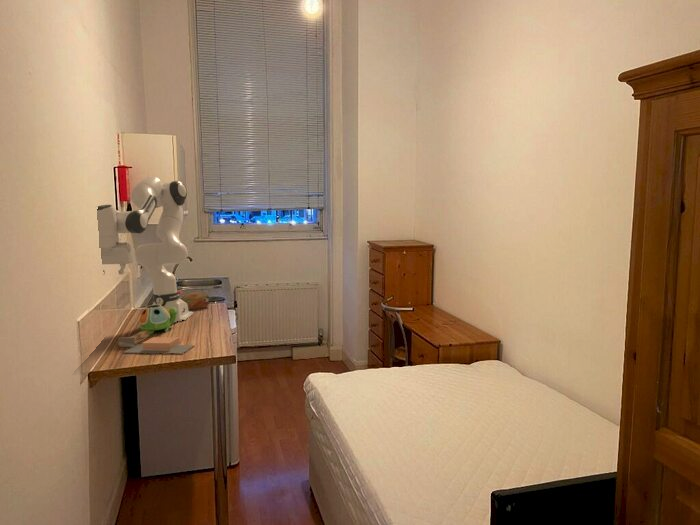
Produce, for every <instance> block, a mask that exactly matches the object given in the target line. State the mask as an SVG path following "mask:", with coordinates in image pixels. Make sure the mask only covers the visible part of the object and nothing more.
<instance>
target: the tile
mask: <svg viewBox="0 0 700 525" xmlns="http://www.w3.org/2000/svg"><path fill="white" fill-rule="evenodd" d="M141 343H142V344H141V345H143V350H172V349H174V348H175V347H177V346H178V345H181V338H180V337H179V336H177V337H175V336H174V337H172V336H171V337H170V336H169V337H168V336H167V337H166V336H163V337H162V336H161V337H159V336H153V337H151V338H149V339H148V340H146V341H143V342H141Z"/></svg>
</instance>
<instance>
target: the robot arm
mask: <svg viewBox="0 0 700 525" xmlns="http://www.w3.org/2000/svg"><path fill="white" fill-rule="evenodd" d="M187 195H188V190H187V187H186V185H185V184H184V182H181V181H179V180H174V181H170V182H164V183H163V182H162V181H161V179H159V178H158V177H156V176H153V175H152V176H151V175H150V176H148V177H146V178H144V179H142V180H141V181H140V182H138V183H137V184H136V185H135V186H134V187H133V188H132V190H131V193H130V200H131V201H132V203H133V204H134V205H135V206H136V207H137V208H138V209H137V210H129V211H127V210H126V211H120V210H117V209H116V208H115V207H114V205H112V204H102V205H99V206H97V207H98V209H97V220H98V231H99V248H101V259H102V265H119V267H120V269H119V270H118V271H117V272H118V275H124V274H125V270H126V266H127V265H129V264H131V263H133V262H134V258H135V260H136V262H137V264H139V265H141V266H142V267H143V268H144V269H145V271H147V273H148V275H149V277H150V279H151V283H152V284H151V286H152V292H153V294H152V301H153V303H152V304H151V305H157V304H159V305H161V306H162V307H163V308H165V309H166V310H167V312H168V313H169V310H170V309H171V308H172V307H175V308H176V310H177V311H178V313H177V314H176V319H175V321H174V323H178V322H183V321H182V320H185V321H186V319H187V318H188V319H189V318H191V316H193V315H194V312H193V311H190V310H189V309H188V305H187V303H186V302H184V301H183V300H182V298H181V296H180V295H182V294H183V292H182V290H178V288H177V287H178V286H177V280H176V276H175V275H174V273H172V272H170V271H168V270H167V269H166V267H165V266H175V265H179V264H183V263H185V262H186V260H187V259H188V254H189V253H188V248H187V246H186V245H185V244H184V243H182V242H181V240H180V233H181V229H182V226H183V221H184V209H183V207H182V206H183V205H184V204H185V200H186V198H187ZM161 207H162V212H161V215H160V217H159V220H158V222H157V226H156V231H155V234H156V236H157V238H159V240H161V241H162V242H150V243H149V242H148V243H145V244H140V245H138V246H137V247H136V249H135V250H134V251H135V252H134V257H133V253H132V248H131V245H130V243H128V242H127V241H126V242H125V241H124V242H121V241H120V238H119V234H142V233H144V232H145V231H146V229H147V228H148V225H149V221H150V219H151V217H152V216H153V214H154V212H155V210H156V208H161ZM105 271H106V270H105V269H103V272H104V274H103V275H106V273H105ZM151 308H153V307H151ZM169 316H170V313H169ZM188 319H187V320H188ZM177 321H178V322H177Z"/></svg>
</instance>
